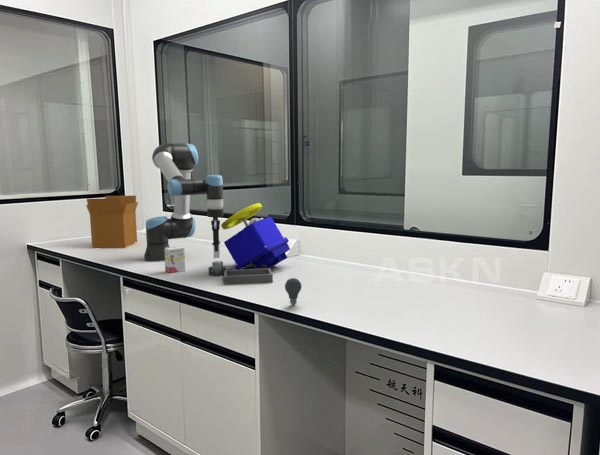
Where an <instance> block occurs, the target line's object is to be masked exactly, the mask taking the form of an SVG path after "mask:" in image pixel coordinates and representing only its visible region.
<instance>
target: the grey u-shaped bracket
mask: <svg viewBox="0 0 600 455" xmlns="http://www.w3.org/2000/svg"><path fill="white" fill-rule="evenodd" d="M207 269H208V276H209V277H222V276H224V272H225V270H227V265H223V274H220V275H213V270H212V266H209V267H208V268H207Z"/></svg>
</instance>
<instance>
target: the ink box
mask: <svg viewBox="0 0 600 455" xmlns="http://www.w3.org/2000/svg"><path fill="white" fill-rule="evenodd" d="M169 247H170V248H165V260H164V266H165V268H164V270H165V273H167V274H173V273H180V272H185V271H186V260H185V258H186V256H185V247H183V246H169Z"/></svg>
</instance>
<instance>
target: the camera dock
mask: <svg viewBox="0 0 600 455" xmlns="http://www.w3.org/2000/svg"><path fill="white" fill-rule="evenodd" d="M273 278H274V277H273V272H272V268H267V267H265V268H257V269H256V268H247V269H244V268H242V269H240V270H235V269H226V270H225V272H224V278H223V280H224V281H223V282H224V283H223V284H224V285H244V284H264V283H274V281H273Z"/></svg>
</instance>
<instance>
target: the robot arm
mask: <svg viewBox="0 0 600 455" xmlns="http://www.w3.org/2000/svg"><path fill="white" fill-rule="evenodd" d="M151 157H152V158H151V159H152V163H153V164H154V166H155V168H158V169H159V170H160V172H161V173H162V174H163V177H164V178H165V179H166V181H167V194H168V195H169V196H171V197H172V196H174V199H173V203H174V204H173V212H172V213H171V214H170V218H168V216H166V215H165V216H164V215H163V216H162V215H161V216H154V217H151V218H149V219H147V220H146V221H145V235H146V238H145V239H146V247H145V251H144V254H143V255H144V256H143V257H144V258H143V259H144V261H146V262H147V261H148V262H163V261H165V248H170V247H171V246H170V245H169V240H174V239H186V238H191V237H193V235H194V234H195V231H196V227H197V226H196V225H197V224H196V219H195V218H194V217H193V214H191V213H190V205H191V196H199V195H200V196H201V195H202V196H204V195H205V196H206V201H205V204H206V207H207V209H206V213H207V214H206V215H207V217H208V218H212V220H211V221H210V223H211V231H212V237H213V238H212V241H213V242H212V243H211V245H213V246H212V247H213V248H212V249H213V259H220V257H221V256H220V255H221V254H220V244H221V243H222V242H221V241H220V234H219V233H220V229H221V228H220V226H221V220H219V218H222V217H224V191H223V190H224V187H223V186H224V185H223V184H224V182H223V176H222V175H221V174H207V175H206V177H205V178H192V172H193V171H194V169H195V166H197V165H198V163H199V154H198V150H197V148H196V146H195V145H194V144H192V143H187V142H186V143H185V142H184V143H181V142H180V143H169V142H168V143H162V144H160V145H159V146H156V147H155V149H154V150H153V152H152V155H151Z"/></svg>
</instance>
